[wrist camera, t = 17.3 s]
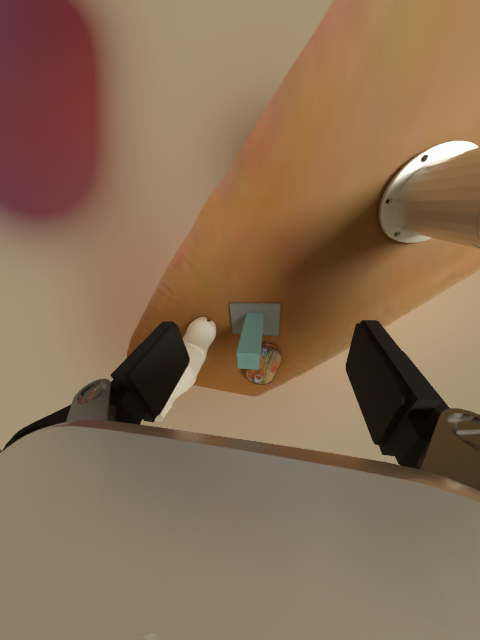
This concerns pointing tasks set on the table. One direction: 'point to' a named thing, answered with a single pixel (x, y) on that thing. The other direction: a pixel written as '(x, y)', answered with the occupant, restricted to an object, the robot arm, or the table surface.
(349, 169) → the table surface
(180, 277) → the table surface
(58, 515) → the robot arm
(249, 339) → the stick
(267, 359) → the tin
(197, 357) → the water bottle
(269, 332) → the mat
